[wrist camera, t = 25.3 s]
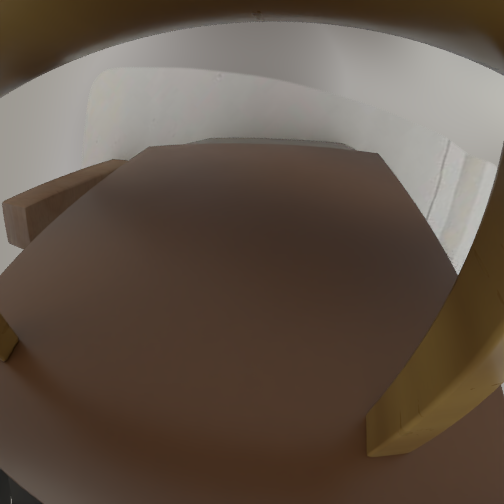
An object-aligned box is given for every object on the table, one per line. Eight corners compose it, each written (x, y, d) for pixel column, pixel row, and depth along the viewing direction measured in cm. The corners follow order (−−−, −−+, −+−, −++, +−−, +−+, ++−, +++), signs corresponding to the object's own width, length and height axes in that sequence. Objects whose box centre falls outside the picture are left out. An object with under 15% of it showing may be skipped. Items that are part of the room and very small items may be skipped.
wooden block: (112, 158, 27) (0, 201, 13) (137, 161, 26) (24, 207, 13) (111, 215, 30) (17, 281, 16) (135, 220, 29) (41, 294, 16)
